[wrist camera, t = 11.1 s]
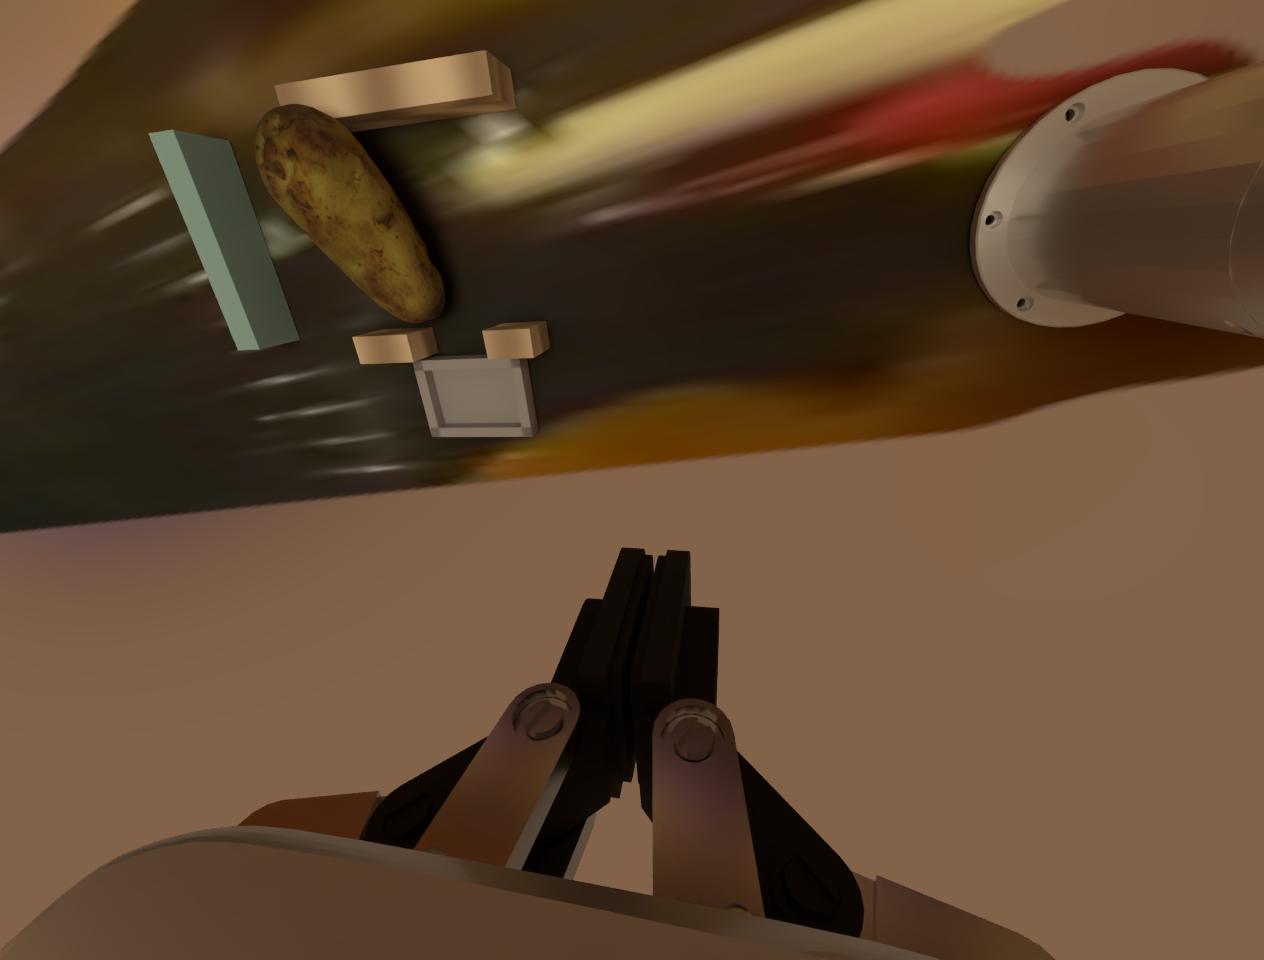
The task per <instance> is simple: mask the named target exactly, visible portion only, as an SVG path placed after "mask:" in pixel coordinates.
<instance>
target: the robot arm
mask: <svg viewBox="0 0 1264 960" xmlns="http://www.w3.org/2000/svg"><path fill="white" fill-rule="evenodd" d="M1067 111H1068V112H1069V113H1070V117H1069V119H1068V120H1066V119H1065V114H1066V112H1067ZM988 215H989V216H990V217H991V221H990V223H989V224H988V225H986V224H985V220H986V218H987V216H988ZM969 249H970V256H971V263H972V269H973V271H974V274H975V276H976V279H977V281H978V284H979V286H980V287H981V289H982V290H983V292H984V293H985V294H986V296H987V297H988V299H989V300H990V301H991V302H992V303H994V304H995V305H996V306H997V307H998V308H1000V309H1001V310H1002V311H1003V312H1005V313H1007V314H1009V315H1011V316H1013V317H1015V318H1017V319H1019V320H1022V321H1026V322H1029V323H1033V324H1036V325H1042V326H1050V327H1057V328H1058V327H1080V326H1085V325H1090V324H1095V323H1100V322H1104V321H1107V320H1110V319H1113V318H1115V317H1118V316H1121V315H1124V314H1127V313H1130V314H1135V315H1141V316H1146V317H1151V318H1157V319H1162V320H1168V321H1173V322H1178V323H1184V324H1189V325H1194V326H1200V327H1205V328H1211V329H1216V330H1221V331H1227V332H1232V333H1237V334H1243V335H1248V336H1254V337H1259V338H1264V61H1263V62H1260V63H1257V64H1254V65H1251V66H1248V67H1245V68H1242V69H1239V70H1236V71H1233V72H1230V73H1227V74H1224V75H1221V76H1218V77H1215V78H1212V79H1209V78H1207V77H1205V76H1203V75H1201V74H1199V73H1195V72H1190V71H1185V70H1180V69H1175V68H1164V69H1144V70H1140V71H1135V72H1130V73H1126V74H1121V75H1117V76H1115V77H1112V78H1110V79H1107V80H1105V81H1102V82H1099V83H1097V84H1094V85H1092V86H1090V87H1088V88H1086V89H1084V90H1082V91H1080V92H1078V93H1076V94H1074V95H1072V96H1070V97H1068V98H1066V99H1065V100H1063V101H1062V102H1060V103H1059V104H1057V105H1056V106H1054V107H1053V108H1051V109H1050V110H1049V111H1047V112H1046V113H1044V114H1043V115H1041V116H1040V117H1039V118H1038V119H1037V120H1036V121H1035V122H1034V123H1033V124H1032V125H1030V126H1029V127H1028V128H1027V129H1026V130H1025V131H1024V132H1023V133H1022V134H1021V135H1020V136H1019V137H1018V138H1017V139H1016V140H1015V142H1014V143H1013V144H1012V145H1011V146H1010V148H1009V149H1008V150H1007V151H1006V152H1005V153H1004V155H1003V156H1002V157H1001V159H1000V160H999V162H998V163H997V165H996V167H995V168H994V170H993V171H992V173H991V175H990V176H989V178H988V179H987V181H986V183H985V186H984V188H983V190H982V193H981V195H980V197H979V200H978V202H977V204H976V208H975V212H974V216H973V220H972V224H971V231H970V247H969ZM1020 299H1021V300H1022V302H1021V304H1020V305H1019V306H1017V303H1018V301H1019V300H1020ZM718 645H719V608H709V607H695V606H691V572H690V551H676V550H667V554H666V556H658V559H657V563H656V568H655V572H654V568H653V556H652V555H645V550H644V549H637V548H621V551H620V553H619V556H618V559H617V562H616V564H615V567H614V570H613V573H612V575H611V578H610V581H609V584H608V587H607V589H606V592H605V595H604V597H603V599H589V598H588V599H586V600H585V602H584V604H583V606H582V608H581V611H580V613H579V616H578V618H577V621H576V623H575V625H574V628H573V630H572V632H571V635H570V637H569V640H568V642H567V645H566V647H565V650H564V652H563V654H562V657H561V660H560V662H559V664H558V667H557V669H556V671H555V674H554V677H553V679H552V681H551V683H543V684H537V685H535V686H532V687H530V688H527V689H526V690H524V691H523V692H521V693H520V694H518V695H517V696H516V697H515V699H514V700H513V701H512V702H511V703H510V704H509V706H508V707H507V709H506V710H505V712H504V713H503V715H502V716H501V718H500V719H499V721H498V722H497V724H496V725H495V727H494V729H493V730H492V731H491V733H490V734H489V736H488V737H486V738H484V739H482V740H480V741H479V742H477V743H475V744H474V745H472V746H470V747H468V748H466V749H465V750H463V751H461V752H459V753H457V754H456V755H454V756H452V757H450V758H449V759H447V760H445V761H443V762H442V763H440V764H438V765H437V766H435V767H433V768H431V769H429V770H427V771H426V772H424V773H422V774H420V775H419V776H417V777H415V778H413V779H412V780H410V781H408V782H407V783H405V784H403V785H401V786H400V787H398V788H397V789H395V790H394V791H393V792H391V793H390V794H389V795H388V796H381V795H380V793H379V791H371V792H361V793H350V794H340V795H330V796H319V797H309V798H300V799H299V798H298V799H288V800H281V801H277V802H274V803H270V804H267V805H265V806H264V807H262V808H260V809H258V810H256V811H255V812H253V813H252V814H250V815H249V816H248V817H247V818H246V819H245V820H243V821H242V822H241V823H240V824H239V825H238V826H229V827H220V828H211V829H205V830H200V831H195V832H190V833H186V834H182V835H178V836H174V837H170V838H166V839H163V840H159V841H157V842H154V843H151V844H148V845H145V846H142V847H140V848H138V849H135V850H133V851H130V852H128V853H125V854H123V855H121V856H119V857H117V858H115V859H113V860H111V861H110V862H108V863H106V864H104V865H103V866H101V867H99V868H98V869H96V870H95V871H94V872H92V873H90V874H89V875H88V876H86V877H85V878H83V879H82V880H81V881H79V882H78V883H77V884H76V885H74V886H73V887H72V888H71V889H69V890H68V891H67V892H65V893H64V894H63V895H62V896H61V897H59V898H58V899H57V900H56V901H54V902H53V903H52V904H51V905H50V906H49V907H47V909H45V910H44V911H43V912H42V913H40V914H39V915H38V916H37V917H36V918H35V919H34V920H33V921H32V922H31V923H29V924H28V925H27V926H26V927H25V928H24V929H23V930H22V931H20V932H19V933H18V934H17V935H16V936H15V937H14V938H13V939H12V940H10V941H9V942H8V943H7V944H6V945H5V946H4V947H3V948H2V949H1V950H0V960H1055V959H1054V958H1053V957H1052V956H1051V955H1050V954H1049V953H1048V952H1047V951H1045V950H1044V949H1043V948H1042V947H1041V946H1040V945H1038V944H1036V943H1035V942H1033V941H1031V940H1030V939H1028V938H1026V937H1024V936H1023V935H1021V934H1019V933H1017V932H1015V931H1012V930H1010V929H1008V928H1005V927H1003V926H1000V925H998V924H995V923H993V922H990V921H988V920H986V919H983V918H981V917H978V916H976V915H973V914H971V913H969V912H966V911H964V910H961V909H959V908H956V907H954V906H951V905H949V904H946V903H944V902H942V901H939V900H937V899H934V898H932V897H929V896H927V895H924V894H922V893H919V892H917V891H915V890H912V889H910V888H908V887H905V886H903V885H900V884H898V883H895V882H893V881H890V880H888V879H885V878H883V877H881V876H878V875H876V879H875V881H874V880H872V879H869V878H867V877H864V876H862V875H860V874H857V873H855V872H852V871H851V870H850V869H849V868H848V866H847V865H846V864H845V863H844V861H843V860H842V859H841V858H840V856H839V855H838V854H837V853H836V852H835V851H834V850H833V849H832V848H831V847H830V846H829V845H828V844H827V843H826V842H825V841H824V840H823V839H822V838H821V837H820V836H819V835H818V834H817V833H816V831H815V830H814V829H813V828H812V827H811V826H810V825H809V824H808V823H807V822H806V821H805V820H804V819H803V818H802V817H801V816H800V815H799V814H798V813H797V812H796V811H795V810H794V809H793V808H792V807H791V806H790V805H789V804H788V803H787V802H786V801H785V800H784V799H783V797H781V795H780V794H779V793H778V792H777V791H776V790H775V789H774V788H773V787H772V786H771V785H770V784H769V783H768V782H767V781H766V780H765V779H764V778H763V777H762V776H761V775H760V774H759V773H758V772H757V771H756V770H755V769H754V768H753V767H752V765H750V763H749V762H748V761H747V760H746V759H745V758H744V757H743V756H742V755H741V754H740V753H739V752H738V751H737V748H736V742H735V736H734V731H733V728H732V725H731V722H730V720H729V719H728V718H727V716H726V715H725V714H724V712H723V711H722V710H720V709H719V708H718V707H716V702H717V701H716V700H717V676H718ZM635 763H637V774H638V783H639V785H640V795H641V807H642V809H643V810H644V812H645V813H646V814H647V816H648V817H649V819H650V820H651V822H652V823H653V896H651V895H646V894H641V893H636V892H631V891H626V890H621V889H615V888H610V887H605V886H600V885H594V884H590V883H584V882H579V881H574V880H573V879H574V876H575V873H576V871H577V868H578V866H579V863H580V861H581V858H582V855H583V853H584V850H585V848H586V845H587V842H588V840H589V837H590V834H591V832H592V829H593V827H594V822H595V818H596V812H597V811H598V810H599V809H601V808H602V807H603V806H605V805H606V804H608V803H609V802H610V798H611V797H614V798H620V793H621V788H622V784H623V781H625V782H631V781H632V778H633V773H634V768H635Z"/></svg>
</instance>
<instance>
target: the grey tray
mask: <svg viewBox="0 0 1264 960" xmlns="http://www.w3.org/2000/svg"><path fill="white" fill-rule="evenodd" d="M413 366H414V370H415V374H416V378H417V381H418V385H419V389H420V393H421V396H422V400H423V404H424V408H425V412H426V415H427V419H428V423H429V427H430V431H431V434H432V437H533V436H534V435H535V434H536V433H537V432H538V431H539V428H538V422H537V416H536V410H535V404H534V397H533V391H532V385H531V379H530V373H529V367H528V361H527V358H516V359H488V357H487V354H486V355H459V356H433V357H426V358H423V359H420V360H418V361H415V362H413Z"/></svg>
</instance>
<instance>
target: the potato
mask: <svg viewBox="0 0 1264 960" xmlns="http://www.w3.org/2000/svg"><path fill="white" fill-rule="evenodd" d="M254 147H255V157H256V163H257V166H258V169H259V172H260V175H261V177H262V180H263V182H264V184H265V186H266V187H267V189H268V191H269V193H270V194H271V195H272V197H273V198H274V199H275V201H276V202H277V203H278V204H279V205H280V206H281V207H282V208H283V209H284V211H285V212H286V213H287V214H288V215H289V216H290V217H291V218H293V219H294V220H295V222H296V224H298V225H299V227H300V228H301V229H302V231H303V232H304V233H305V234H307V235H308V236H309V237H310V239H311V240H312V241H313V242H314V243H315V244H316V245H317V246H318V247H319V248H320V249H321V250H322V251H323V252H324V253H325V254H326V255H327V256H328V257H329V258H330V259H331V260H332V261H333V262H334V263H335V264H336V265H338V266H339V267H340V268H341V270H342V271H343V272H344V273H345V274H346V275H347V276H348V277H349V278H350V279H351V280H352V281H353V282H354V283H355V284H356V285H357V286H358V287H359V288H360V289H361V290H362V291H364V292H365V293H366V294H367V295H368V296H369V297H370V298H371V299H372V300H373V301H374V302H376V303H377V304H378V305H379V306H381V307H382V308H384V309H385V310H386V311H388V312H389V313H391V314H393V315H394V316H396V317H398V318H400V319H401V320H404V321H406V322H409V323H414V324H417V323H423V322H424V323H427V322H428V321H429V320H433V319H436V318H438V317H439V316H440V315H441V314H442V313H443V309H444V304H445V290H444V285H443V280H442V277H441V274H440V272H439V271H438V270H437V269H436V268H435V267H434V266H433V264H432V263H431V261H430V259H429V256H428V254H427V252H428V250H427V246H426V245H425V243H424V241H423V239H422V237H421V236H420V234H419V233H418V231H417V229H416V228H415V226H414V225H413V223H412V221H411V219H410V217H409V215H408V213H407V211H406V210H405V208H404V206H403V204H402V203H401V201H400V200H399V198H398V197H397V195H396V194H395V192H394V191H393V189H392V188H391V186H390V185H389V183H388V182H387V180H386V179H385V178H384V176H383V175H382V173H381V172H380V170H379V169H378V168H377V166H376V165H375V164H374V162H373V161H372V160H371V158H370V157H369V155H368V154H367V152H366V151H365V149H364V148H363V147H362V145H361V144H360V143H359V142H358V140H357V139H356V138H355V137H354V136H353V134H352V133H351V132H350V131H349V130H348V129H347V128H346V127H345V126H344V125H343V124H342V123H341V122H339V121H338V120H336V119H335V118H333V117H331V116H329V115H328V114H326V113H324V112H321V111H319V110H317V109H315V108H314V107H309V106H306V105H302V104H288V105H284V106H280V107H277V108H274V109H272V110H270V111H269V112H267V113H266V114H265V115H264V116H263V117H262V119H261V121H260V122H259V124H258V125H257V135H256V138H255V144H254Z"/></svg>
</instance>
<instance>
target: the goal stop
mask: <svg viewBox="0 0 1264 960" xmlns="http://www.w3.org/2000/svg"><path fill="white" fill-rule="evenodd" d="M149 136H150V138H151V141H152V143H153V146H154V148H155V150H156V153H157V155H158V158H159V160H160V162H161V165H162V167H163V170H164V172H165V175H166V177H167V179H168V182H169V184H170V187H171V189H172V191H173V194H174V196H175V199H176V201H177V204H178V206H179V208H180V211H181V213H182V216H183V218H184V220H185V223H186V225H187V228H188V230H189V233H190V235H191V237H192V240H193V242H194V245H195V247H196V249H197V252H198V254H199V257H200V259H201V262H202V264H203V266H204V269H205V271H206V274H207V276H208V278H209V281H210V283H211V286H212V288H213V291H214V293H215V295H216V298H217V300H218V303H219V305H220V307H221V310H222V312H223V315H224V317H225V320H226V322H227V324H228V327H229V329H230V332H231V334H232V336H233V339H234V341H235V344H236V346H237V349H238V350H255V349H263V348H267V347H271V346H276V345H280V344H284V343H289V342H293V341H297V340H300V338H299V335H298V333H297V330H296V327H295V324H294V321H293V319H292V316H291V313H290V310H289V307H288V305H287V302H286V299H285V296H284V293H283V291H282V288H281V285H280V282H279V279H278V277H277V274H276V271H275V268H274V265H273V263H272V260H271V257H270V254H269V251H268V249H267V246H266V243H265V240H264V237H263V235H262V232H261V229H260V226H259V223H258V220H257V218H256V215H255V212H254V209H253V206H252V204H251V201H250V198H249V195H248V192H247V190H246V187H245V184H244V181H243V178H242V176H241V173H240V170H239V167H238V164H237V162H236V159H235V156H234V153H233V150H232V148H231V145H230V142H229V141H228V140H223V139H218V138H213V137H207V136H202V135H197V134H192V133H187V132H182V131H177V130H168V131H161V132H155V133H149Z"/></svg>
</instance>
